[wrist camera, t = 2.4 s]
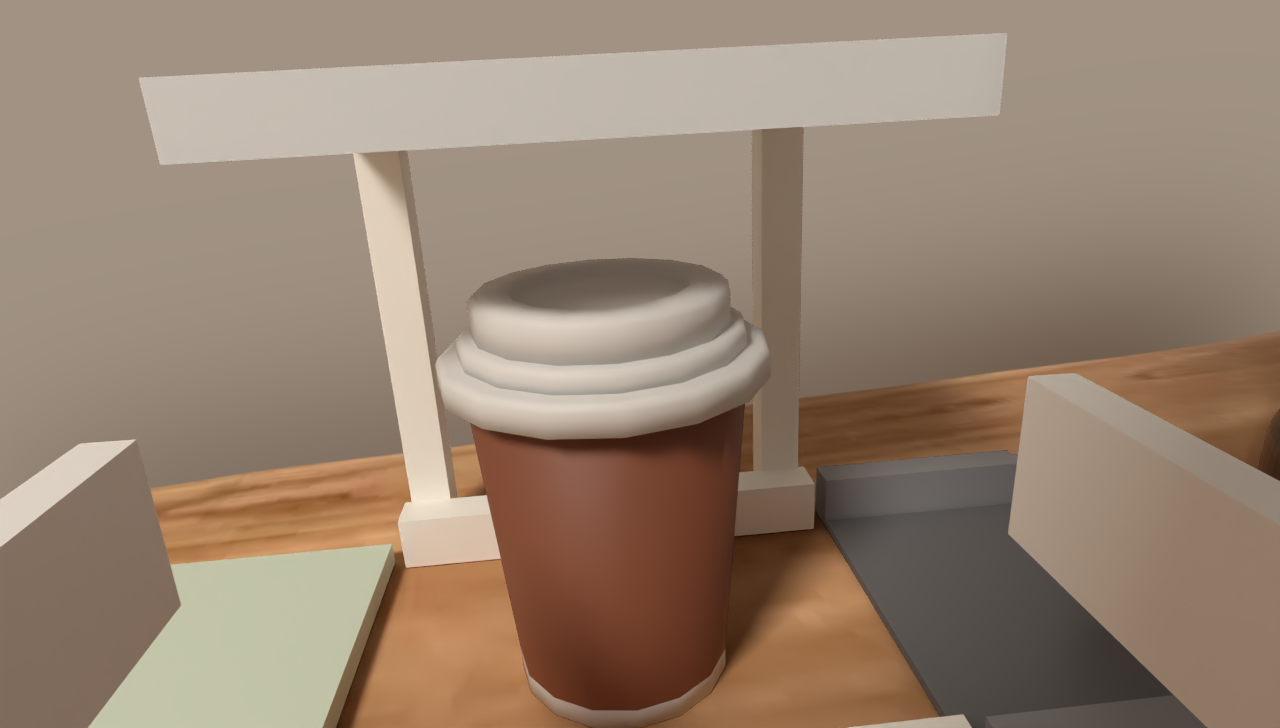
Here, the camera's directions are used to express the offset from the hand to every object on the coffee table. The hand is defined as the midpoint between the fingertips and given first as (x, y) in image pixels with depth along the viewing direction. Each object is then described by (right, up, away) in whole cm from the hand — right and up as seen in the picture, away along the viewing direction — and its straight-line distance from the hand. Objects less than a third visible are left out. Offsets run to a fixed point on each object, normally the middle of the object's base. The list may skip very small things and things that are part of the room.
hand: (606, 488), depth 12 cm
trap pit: (+12, -6, +14) cm, 20 cm away
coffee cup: (0, -7, +13) cm, 15 cm away
